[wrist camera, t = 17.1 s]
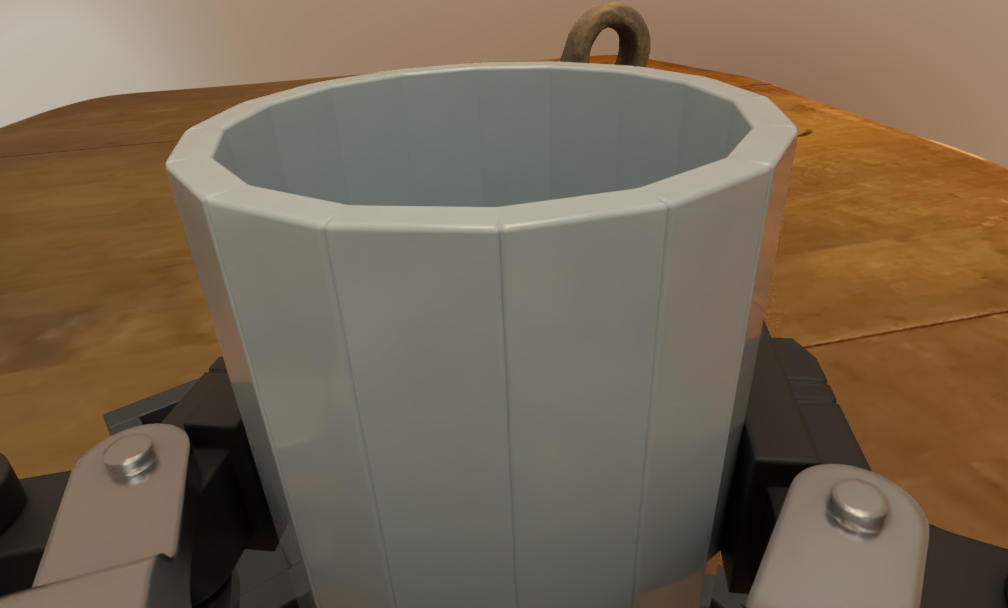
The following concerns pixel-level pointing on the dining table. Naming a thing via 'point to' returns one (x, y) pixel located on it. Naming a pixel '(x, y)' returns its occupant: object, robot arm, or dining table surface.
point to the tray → (265, 572)
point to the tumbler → (492, 324)
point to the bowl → (618, 18)
